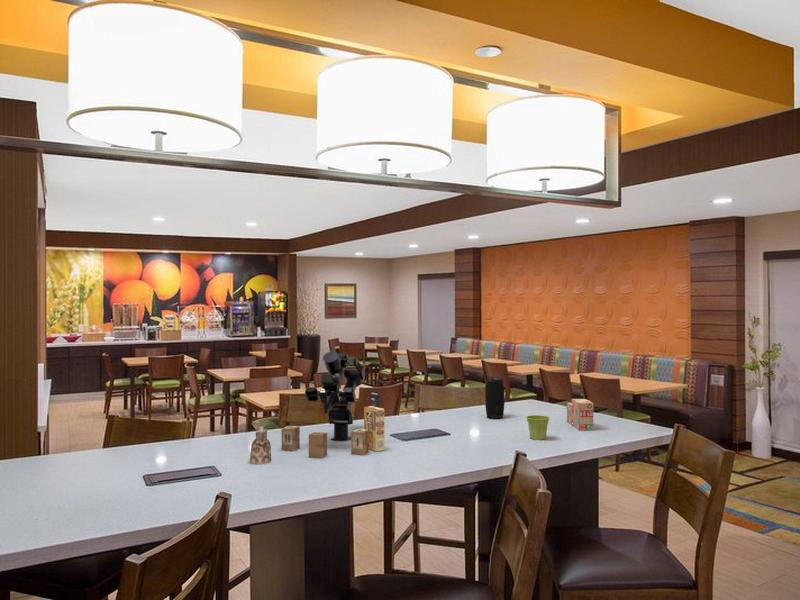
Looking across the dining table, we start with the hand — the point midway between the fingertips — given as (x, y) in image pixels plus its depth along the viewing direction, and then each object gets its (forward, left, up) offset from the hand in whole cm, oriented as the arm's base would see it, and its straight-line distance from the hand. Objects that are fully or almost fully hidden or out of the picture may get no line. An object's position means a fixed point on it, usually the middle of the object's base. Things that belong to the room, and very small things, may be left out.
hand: (325, 412), depth 219 cm
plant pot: (-41, +76, -14) cm, 87 cm away
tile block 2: (+1, +14, -14) cm, 20 cm away
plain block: (+9, +1, -14) cm, 17 cm away
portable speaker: (-86, +55, -14) cm, 103 cm away
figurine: (+21, -15, -14) cm, 30 cm away
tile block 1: (+1, -13, -14) cm, 19 cm away
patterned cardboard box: (-73, +93, -14) cm, 119 cm away
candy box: (-7, +17, -14) cm, 23 cm away
